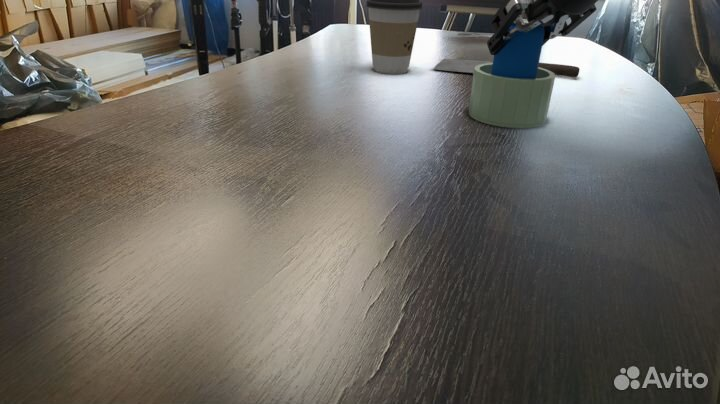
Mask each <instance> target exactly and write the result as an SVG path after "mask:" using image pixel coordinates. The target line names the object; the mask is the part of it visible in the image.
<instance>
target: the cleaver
mask: <svg viewBox="0 0 720 404" xmlns="http://www.w3.org/2000/svg"><path fill="white" fill-rule="evenodd" d="M486 63H493V60H491V61H489V60H477V59H461V58H458V59H457V58H443V59H442V60H441V61H439V62H438V63H437V64H436V65H435V66H434V68H433V70H435V71H445V72H455V73H457V72H458V73H468V74H473V73H474V68H475V66H477V65H480V64H486ZM538 67H540V68H543V69H546V70H549V71H551V72H553V73H555V76H561V77H569V78H577V77H578V76H579V75H580V67H578V66H575V65H567V64H558V63H549V62H539V65H538Z"/></svg>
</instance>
